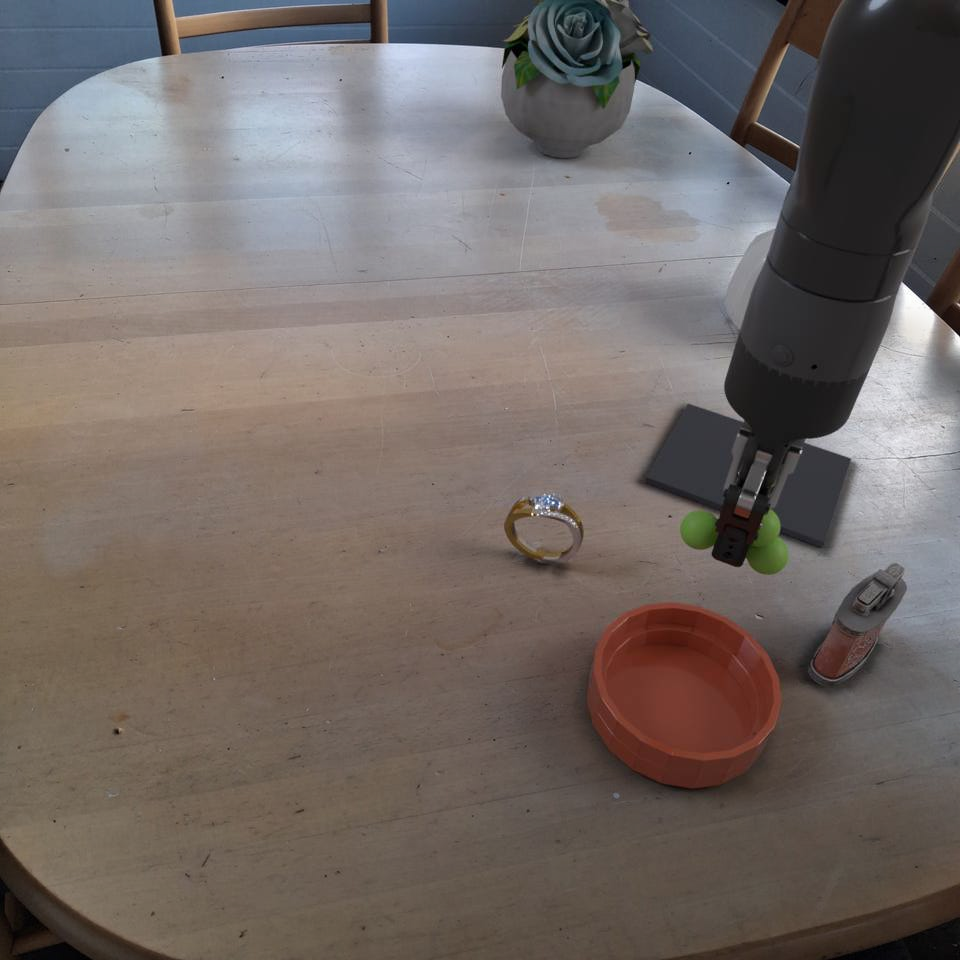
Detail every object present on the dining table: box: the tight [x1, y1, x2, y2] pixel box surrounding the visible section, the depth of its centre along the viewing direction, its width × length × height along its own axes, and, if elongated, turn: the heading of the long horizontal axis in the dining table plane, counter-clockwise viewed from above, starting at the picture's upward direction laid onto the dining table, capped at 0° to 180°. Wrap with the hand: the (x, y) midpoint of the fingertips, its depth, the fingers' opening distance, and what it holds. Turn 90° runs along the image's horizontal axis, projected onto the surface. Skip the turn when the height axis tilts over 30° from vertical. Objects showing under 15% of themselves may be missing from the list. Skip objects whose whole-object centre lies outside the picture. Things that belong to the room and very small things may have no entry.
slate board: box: [644, 403, 852, 549], centre depth 93 cm, size 18×14×1 cm
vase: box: [723, 227, 776, 332], centre depth 109 cm, size 14×14×13 cm
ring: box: [503, 490, 585, 565], centre depth 80 cm, size 7×3×8 cm, turn 67°
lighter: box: [807, 562, 908, 688], centre depth 73 cm, size 8×3×10 cm, turn 133°
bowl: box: [586, 601, 783, 789], centre depth 71 cm, size 14×14×4 cm
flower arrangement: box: [500, 0, 654, 159], centre depth 142 cm, size 25×25×24 cm
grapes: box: [679, 509, 790, 576], centre depth 62 cm, size 8×3×6 cm, turn 64°
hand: (733, 543), depth 63 cm, fingers closed on grapes, 2 cm apart
